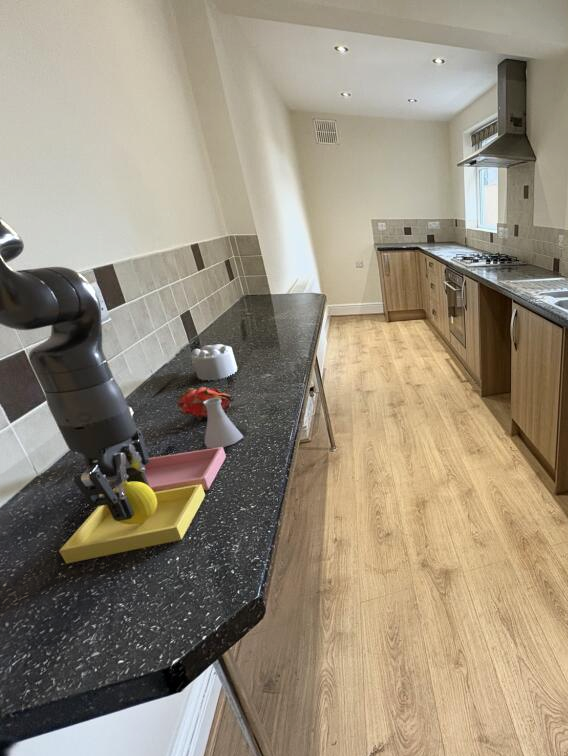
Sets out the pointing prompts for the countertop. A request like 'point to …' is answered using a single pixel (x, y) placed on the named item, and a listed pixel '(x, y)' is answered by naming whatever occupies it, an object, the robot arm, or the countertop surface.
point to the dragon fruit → (201, 401)
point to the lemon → (139, 502)
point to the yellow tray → (135, 526)
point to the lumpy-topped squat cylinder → (214, 362)
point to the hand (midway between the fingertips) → (134, 505)
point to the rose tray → (184, 469)
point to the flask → (219, 426)
